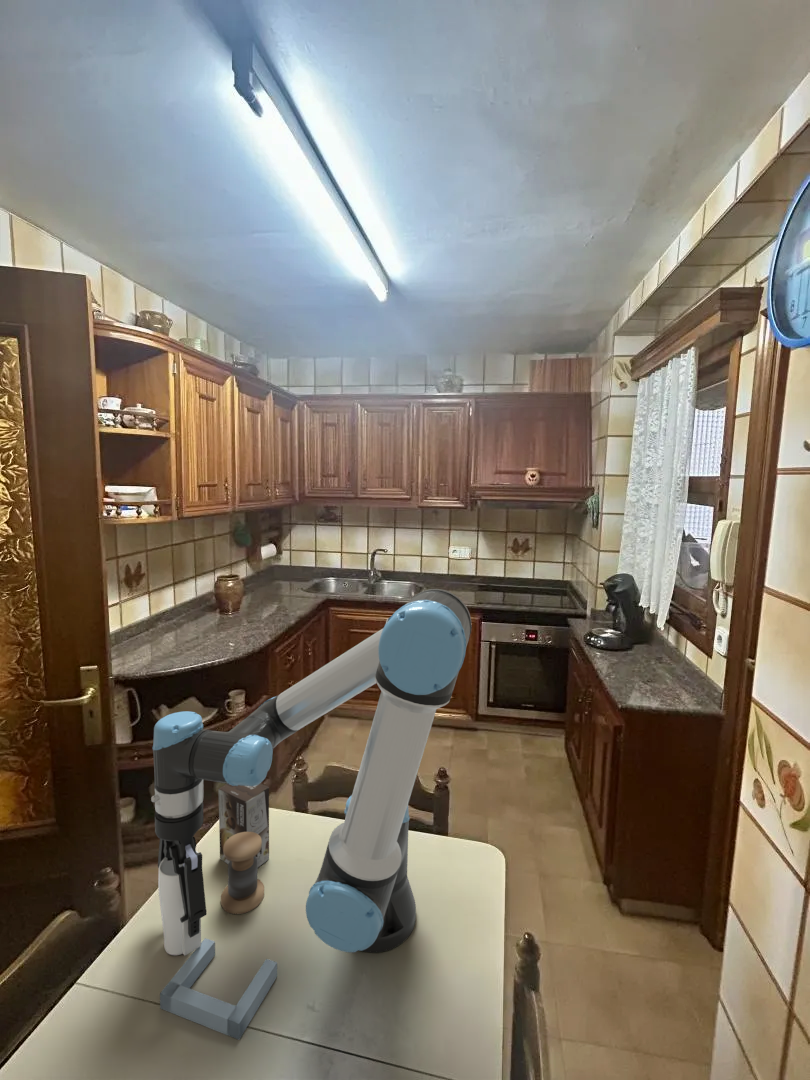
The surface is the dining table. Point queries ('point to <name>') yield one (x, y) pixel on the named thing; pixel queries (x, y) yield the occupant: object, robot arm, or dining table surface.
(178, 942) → the drinking glass
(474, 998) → the dining table surface
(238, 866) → the bobbin
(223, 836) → the coffee box
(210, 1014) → the blue u-shaped block
